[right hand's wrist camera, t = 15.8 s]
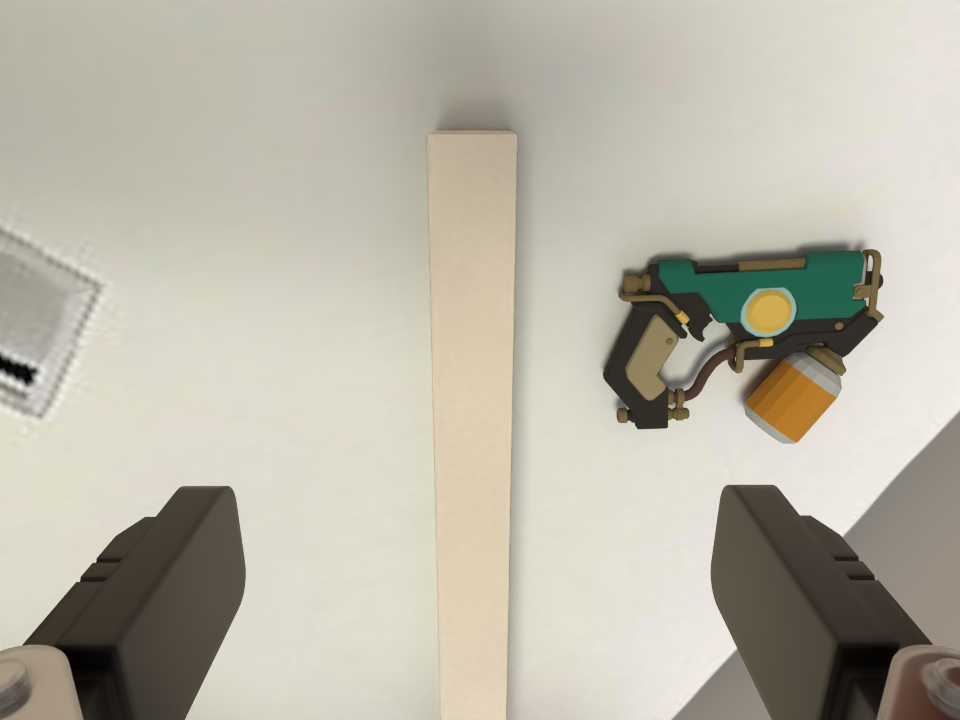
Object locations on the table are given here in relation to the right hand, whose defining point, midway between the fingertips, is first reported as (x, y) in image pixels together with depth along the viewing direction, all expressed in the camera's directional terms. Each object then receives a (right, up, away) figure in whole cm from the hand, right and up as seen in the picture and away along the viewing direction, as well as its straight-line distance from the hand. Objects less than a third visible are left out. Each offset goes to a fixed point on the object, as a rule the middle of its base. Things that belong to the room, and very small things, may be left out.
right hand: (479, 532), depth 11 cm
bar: (0, -10, +41) cm, 42 cm away
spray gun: (+17, +5, +36) cm, 40 cm away
